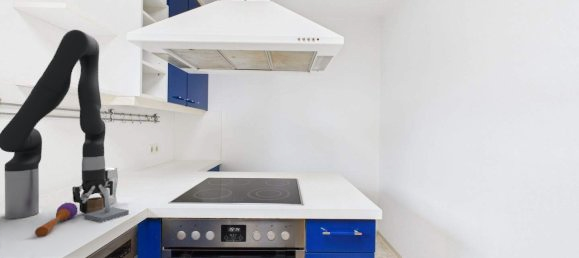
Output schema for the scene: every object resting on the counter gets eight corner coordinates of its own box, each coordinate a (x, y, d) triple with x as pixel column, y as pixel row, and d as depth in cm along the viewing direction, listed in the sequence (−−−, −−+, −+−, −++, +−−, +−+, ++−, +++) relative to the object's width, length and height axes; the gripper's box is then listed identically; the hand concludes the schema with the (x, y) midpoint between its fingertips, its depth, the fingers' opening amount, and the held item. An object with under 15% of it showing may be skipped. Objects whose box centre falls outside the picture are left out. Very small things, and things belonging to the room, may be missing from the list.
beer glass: (117, 204, 120) (116, 169, 119) (97, 206, 116) (97, 170, 116) (118, 200, 126) (118, 167, 126) (100, 202, 123) (100, 168, 123)
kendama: (27, 225, 84) (59, 202, 103) (32, 243, 84) (63, 217, 103) (50, 220, 85) (77, 198, 104) (55, 237, 86) (82, 213, 105)
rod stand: (84, 218, 102) (84, 189, 101) (112, 210, 111) (112, 184, 111) (101, 222, 97) (101, 192, 97) (128, 214, 106) (128, 186, 106)
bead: (81, 212, 108) (80, 200, 108) (97, 208, 113) (97, 196, 113) (90, 215, 105) (90, 201, 105) (106, 210, 111) (106, 198, 111)
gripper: (106, 164, 117) (106, 204, 117) (67, 169, 104) (67, 213, 104) (117, 166, 114) (118, 206, 114) (78, 171, 101) (79, 216, 101)
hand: (93, 209), depth 109 cm, fingers open, 7 cm apart
